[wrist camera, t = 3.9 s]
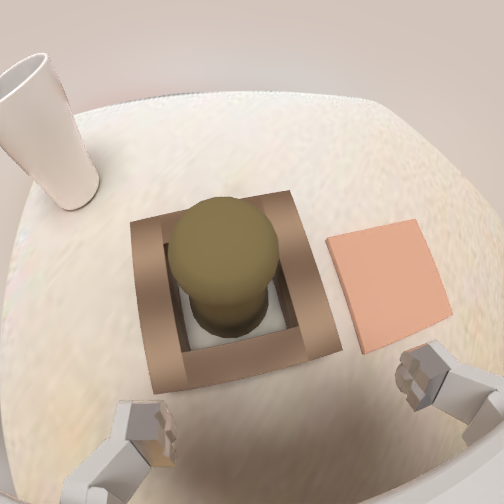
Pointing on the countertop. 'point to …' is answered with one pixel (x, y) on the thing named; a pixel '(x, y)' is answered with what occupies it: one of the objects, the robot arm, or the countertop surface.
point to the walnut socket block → (241, 352)
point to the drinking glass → (45, 132)
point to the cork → (224, 263)
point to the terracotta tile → (388, 282)
